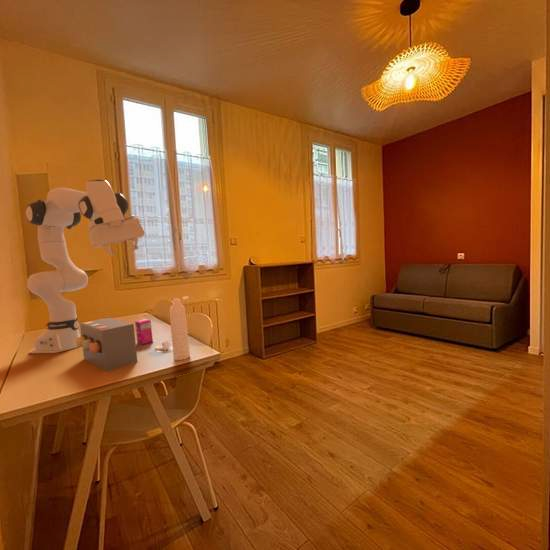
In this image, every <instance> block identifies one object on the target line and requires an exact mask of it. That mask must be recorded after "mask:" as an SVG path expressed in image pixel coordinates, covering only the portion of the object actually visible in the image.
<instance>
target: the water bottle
mask: <svg viewBox="0 0 550 550" xmlns="http://www.w3.org/2000/svg"><path fill="white" fill-rule="evenodd" d="M182 299H183V300H184V301H185V300H189V299H190V296H183V297H182ZM169 320H170V334H171V342H172V343H171V344H172V346H171V347H173V350H172V354H173V357H172V358H173V360H174V361H184V360H186V358H187V359H189V358H190V357H189V356H191V355H190V353H191V352H190V347H189V346H190V344H189V334H188V331H189V330H188V322H187V309H186V307H185V306H184V304H182V302H181V300H180V298H179V297H178V298H176V297H175V298H173V304H172V305H171V306H170V309H169ZM188 357H189V358H188ZM183 359H184V360H183Z"/></svg>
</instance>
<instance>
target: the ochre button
mask: <svg viewBox="0 0 550 550" xmlns="http://www.w3.org/2000/svg"><path fill="white" fill-rule="evenodd" d="M83 340H87V339H86V337H85V336H82V337H81V336H80V337H78V338H76V343H77V346H78V347H77V348H80V347H83V346H82V341H83Z"/></svg>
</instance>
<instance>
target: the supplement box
mask: <svg viewBox="0 0 550 550" xmlns="http://www.w3.org/2000/svg"><path fill="white" fill-rule="evenodd" d="M134 328H135V334H136V335H135V337H136V344H138V345H140V346H144V345H148V344H153V343H154V341H153V331H152V330H153V329H152V322H151V320H150V319H147V318H145V319H141V320H140V319H139V320H136V321H134Z"/></svg>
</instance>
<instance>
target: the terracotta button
mask: <svg viewBox="0 0 550 550" xmlns="http://www.w3.org/2000/svg"><path fill="white" fill-rule="evenodd" d="M89 351H90V353H91V354H93V353H97V352H100V351H101V346H100V343H99V342H94V343H90V344H89Z"/></svg>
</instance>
